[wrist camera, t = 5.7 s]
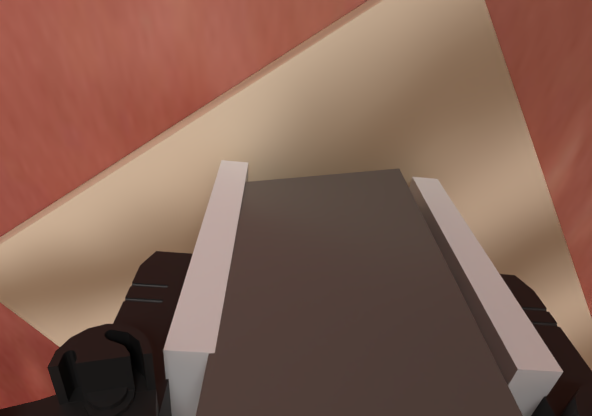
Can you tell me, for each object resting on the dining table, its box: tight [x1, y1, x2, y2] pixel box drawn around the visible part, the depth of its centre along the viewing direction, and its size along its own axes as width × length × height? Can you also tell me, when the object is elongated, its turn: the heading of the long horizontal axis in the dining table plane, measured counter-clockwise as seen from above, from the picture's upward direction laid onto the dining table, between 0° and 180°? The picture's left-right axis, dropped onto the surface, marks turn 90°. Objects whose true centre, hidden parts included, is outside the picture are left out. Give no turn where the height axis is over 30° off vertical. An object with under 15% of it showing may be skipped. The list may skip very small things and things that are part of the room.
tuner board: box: [0, 0, 592, 370], centre depth 17 cm, size 19×18×1 cm
